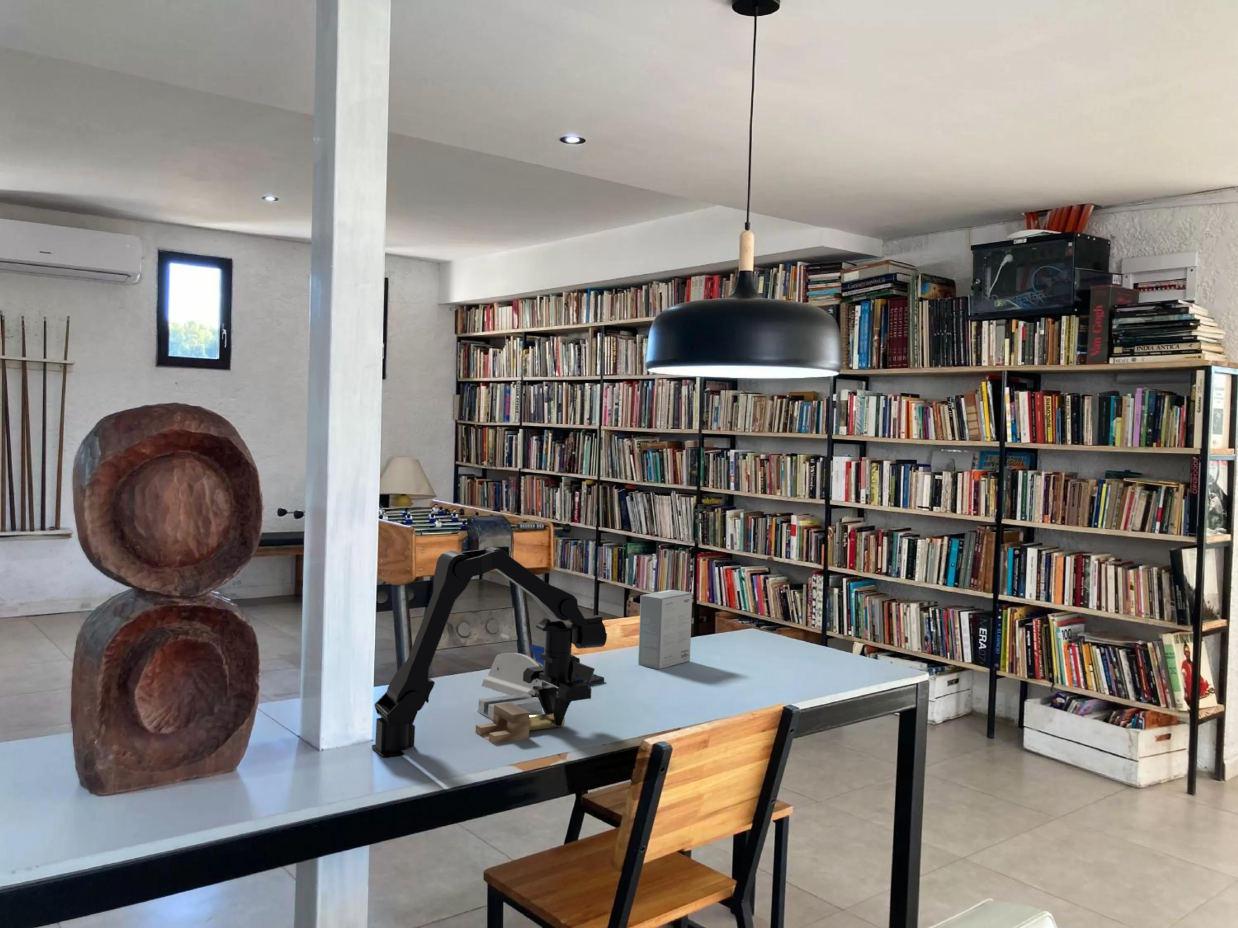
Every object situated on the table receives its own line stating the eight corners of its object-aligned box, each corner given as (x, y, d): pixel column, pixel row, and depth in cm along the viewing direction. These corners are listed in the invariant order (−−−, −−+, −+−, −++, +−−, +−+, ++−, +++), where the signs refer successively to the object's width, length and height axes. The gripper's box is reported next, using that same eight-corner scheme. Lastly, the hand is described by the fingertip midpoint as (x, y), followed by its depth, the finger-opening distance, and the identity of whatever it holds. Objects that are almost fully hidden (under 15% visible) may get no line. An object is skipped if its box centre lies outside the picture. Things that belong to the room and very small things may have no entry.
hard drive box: (669, 656, 271) (672, 589, 271) (690, 661, 266) (694, 592, 266) (636, 664, 259) (640, 593, 259) (658, 669, 254) (662, 597, 254)
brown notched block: (493, 747, 183) (495, 717, 183) (475, 735, 190) (476, 706, 189) (528, 741, 188) (530, 712, 188) (509, 730, 194) (511, 702, 194)
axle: (523, 732, 190) (523, 718, 190) (516, 729, 192) (516, 714, 192) (564, 727, 196) (565, 713, 196) (556, 724, 198) (557, 710, 198)
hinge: (480, 685, 229) (492, 645, 231) (493, 688, 232) (505, 649, 235) (526, 700, 218) (538, 658, 220) (539, 703, 221) (551, 662, 224)
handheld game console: (606, 683, 238) (608, 647, 238) (569, 691, 228) (571, 654, 228) (564, 671, 249) (565, 636, 249) (527, 678, 239) (528, 643, 239)
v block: (494, 724, 198) (495, 707, 198) (477, 714, 204) (478, 698, 204) (542, 717, 205) (543, 701, 205) (524, 708, 211) (525, 692, 211)
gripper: (614, 656, 193) (610, 730, 193) (566, 638, 208) (563, 707, 208) (569, 661, 186) (565, 737, 186) (523, 642, 201) (520, 713, 202)
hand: (554, 723), depth 196 cm, fingers closed on axle, 3 cm apart
